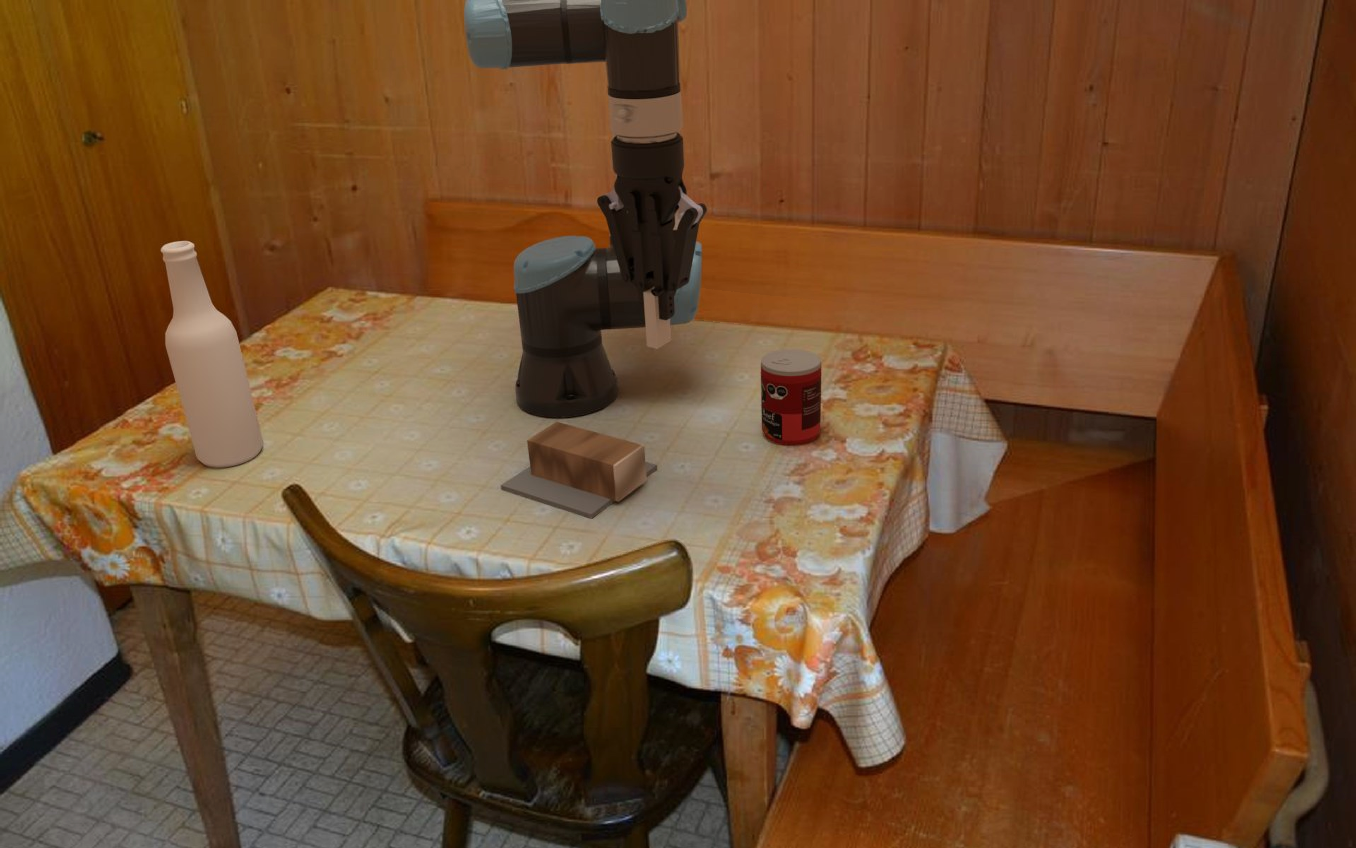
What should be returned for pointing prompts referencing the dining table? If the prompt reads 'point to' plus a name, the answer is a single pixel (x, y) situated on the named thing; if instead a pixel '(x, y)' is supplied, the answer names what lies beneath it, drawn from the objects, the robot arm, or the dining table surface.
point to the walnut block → (587, 460)
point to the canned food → (791, 396)
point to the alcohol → (208, 367)
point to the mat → (560, 493)
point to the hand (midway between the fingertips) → (659, 343)
